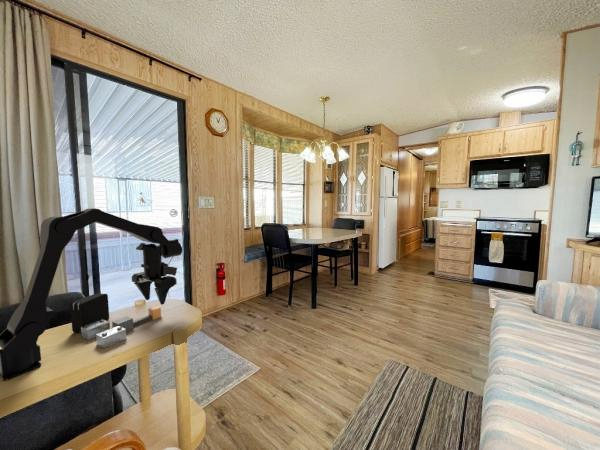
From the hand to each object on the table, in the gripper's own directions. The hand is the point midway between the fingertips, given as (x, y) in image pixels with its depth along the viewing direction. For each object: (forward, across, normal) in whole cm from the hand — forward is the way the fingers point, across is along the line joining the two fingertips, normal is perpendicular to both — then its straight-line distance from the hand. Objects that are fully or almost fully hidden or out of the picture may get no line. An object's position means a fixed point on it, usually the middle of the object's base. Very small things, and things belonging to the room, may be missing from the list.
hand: (155, 302), depth 93 cm
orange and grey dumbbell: (+6, 0, +7) cm, 9 cm away
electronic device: (+6, +13, +15) cm, 20 cm away
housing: (+6, 0, +17) cm, 18 cm away
